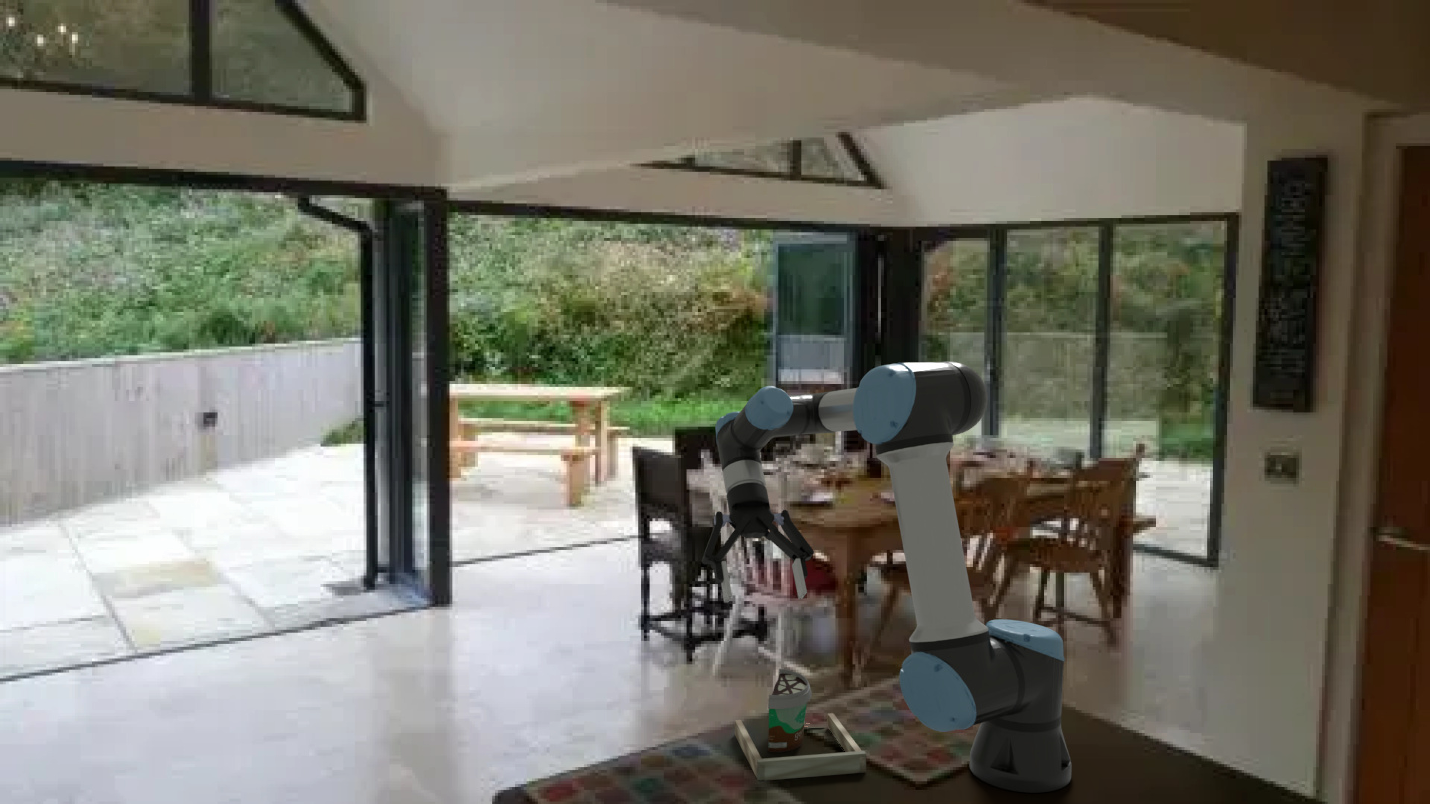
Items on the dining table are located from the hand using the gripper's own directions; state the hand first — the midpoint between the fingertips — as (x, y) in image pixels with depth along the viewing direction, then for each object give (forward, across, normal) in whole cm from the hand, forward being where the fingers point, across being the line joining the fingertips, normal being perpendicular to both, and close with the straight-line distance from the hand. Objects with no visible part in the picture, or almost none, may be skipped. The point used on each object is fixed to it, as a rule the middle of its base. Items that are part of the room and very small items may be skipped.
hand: (765, 597), depth 190 cm
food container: (+24, -1, -4) cm, 24 cm away
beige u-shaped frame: (+27, -1, 0) cm, 27 cm away
